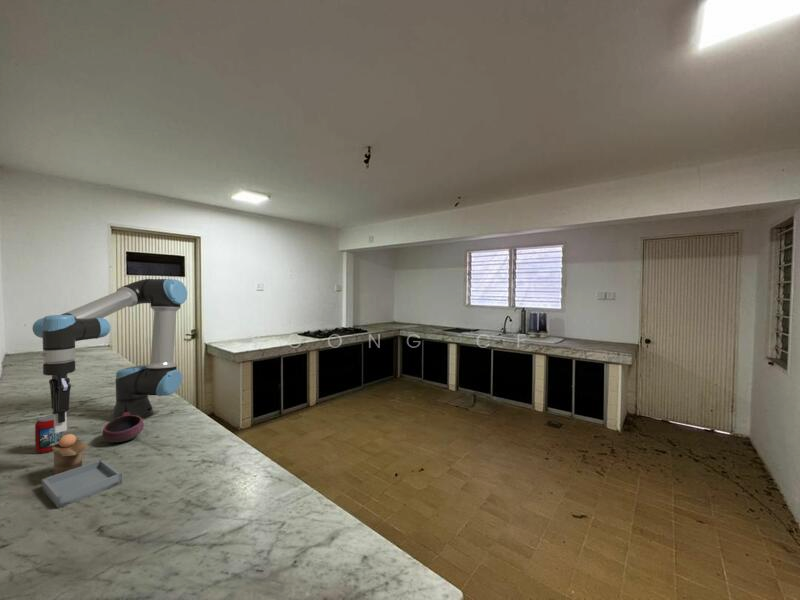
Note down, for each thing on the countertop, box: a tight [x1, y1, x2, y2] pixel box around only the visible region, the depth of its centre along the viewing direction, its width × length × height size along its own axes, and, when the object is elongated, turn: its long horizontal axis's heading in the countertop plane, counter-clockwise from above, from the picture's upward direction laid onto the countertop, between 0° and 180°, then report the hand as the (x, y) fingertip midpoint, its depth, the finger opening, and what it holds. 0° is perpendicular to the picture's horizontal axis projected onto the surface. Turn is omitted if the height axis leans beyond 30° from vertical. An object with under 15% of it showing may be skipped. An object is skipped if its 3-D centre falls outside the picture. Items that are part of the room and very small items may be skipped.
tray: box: [41, 458, 123, 509], centre depth 100 cm, size 14×16×3 cm
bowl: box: [101, 412, 145, 443], centre depth 132 cm, size 16×13×8 cm
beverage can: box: [34, 414, 63, 454], centre depth 122 cm, size 7×7×12 cm
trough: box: [52, 437, 90, 475], centre depth 106 cm, size 6×11×10 cm, turn 58°
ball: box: [59, 433, 77, 447], centre depth 107 cm, size 4×4×4 cm
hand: (60, 431), depth 111 cm, fingers closed
